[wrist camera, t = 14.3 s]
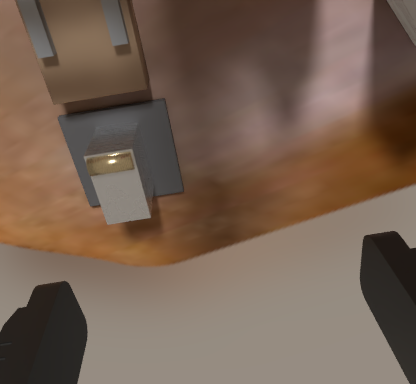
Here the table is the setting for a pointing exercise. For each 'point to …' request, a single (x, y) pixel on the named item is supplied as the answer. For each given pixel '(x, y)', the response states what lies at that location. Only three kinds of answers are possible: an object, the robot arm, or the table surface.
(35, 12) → the brown flat block
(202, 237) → the table surface
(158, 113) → the rubber mat
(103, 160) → the lever cap
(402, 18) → the supplement box
